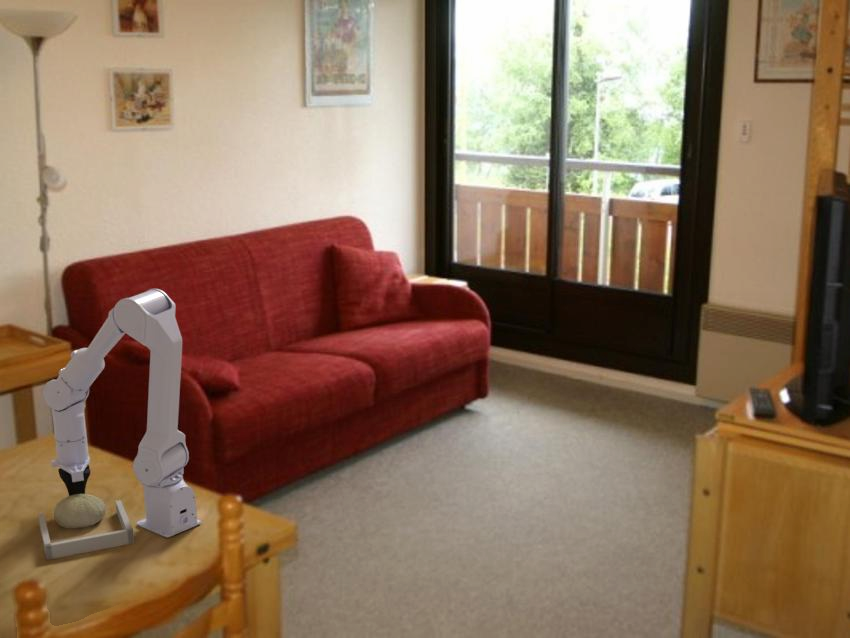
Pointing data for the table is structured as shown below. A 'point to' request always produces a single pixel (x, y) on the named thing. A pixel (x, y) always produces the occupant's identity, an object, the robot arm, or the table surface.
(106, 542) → the grey u-shaped bracket
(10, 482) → the table surface
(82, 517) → the sea urchin shell
